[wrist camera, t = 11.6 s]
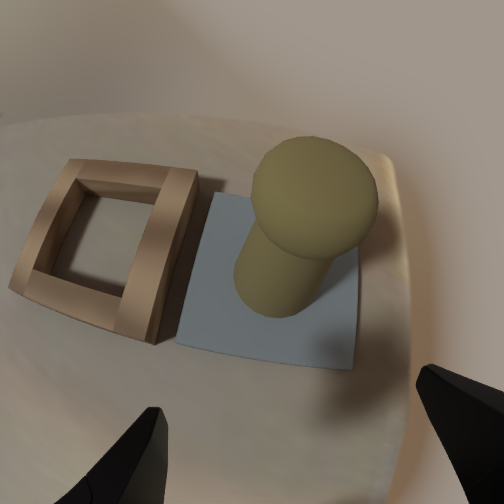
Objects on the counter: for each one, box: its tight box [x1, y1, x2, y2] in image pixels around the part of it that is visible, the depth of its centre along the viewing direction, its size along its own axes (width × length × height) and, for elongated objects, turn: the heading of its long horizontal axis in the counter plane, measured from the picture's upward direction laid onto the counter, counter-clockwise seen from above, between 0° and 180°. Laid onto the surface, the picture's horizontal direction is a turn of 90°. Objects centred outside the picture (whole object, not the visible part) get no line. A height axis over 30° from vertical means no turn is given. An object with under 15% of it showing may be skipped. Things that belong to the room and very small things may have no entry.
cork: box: [233, 136, 379, 318], centre depth 14 cm, size 6×6×11 cm
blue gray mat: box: [175, 192, 358, 370], centre depth 20 cm, size 12×12×1 cm
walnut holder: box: [8, 159, 199, 345], centre depth 19 cm, size 13×13×2 cm
